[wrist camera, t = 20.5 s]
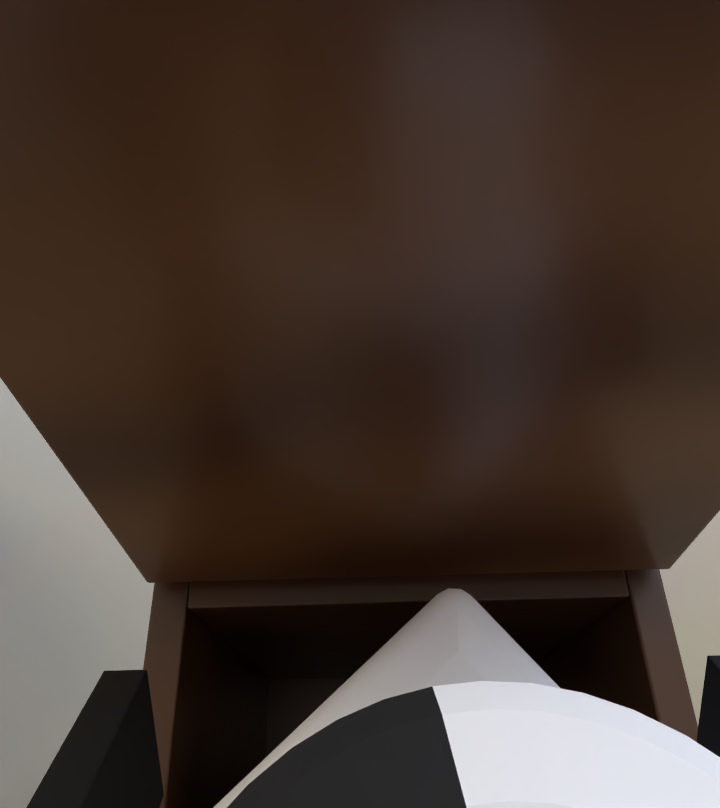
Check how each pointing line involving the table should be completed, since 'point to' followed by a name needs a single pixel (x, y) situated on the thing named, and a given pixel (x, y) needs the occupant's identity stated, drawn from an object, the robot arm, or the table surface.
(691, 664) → the table surface
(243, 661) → the chest
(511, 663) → the medicine bottle
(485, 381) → the lid
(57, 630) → the table surface
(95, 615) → the table surface
